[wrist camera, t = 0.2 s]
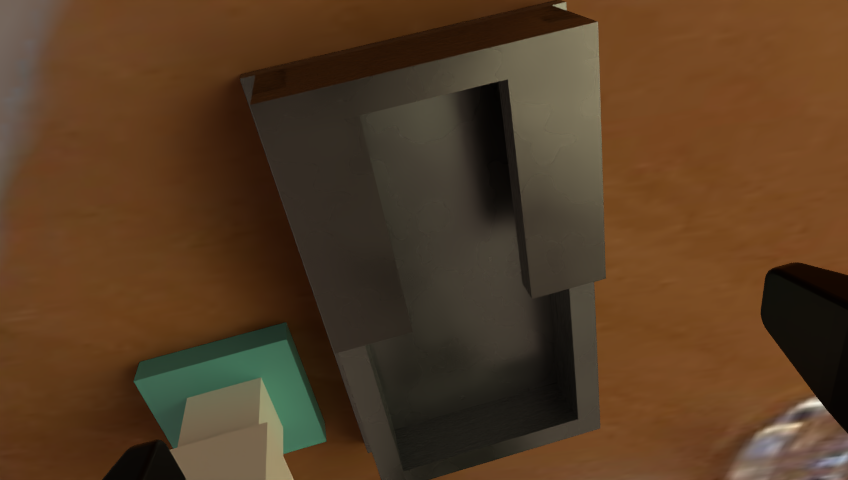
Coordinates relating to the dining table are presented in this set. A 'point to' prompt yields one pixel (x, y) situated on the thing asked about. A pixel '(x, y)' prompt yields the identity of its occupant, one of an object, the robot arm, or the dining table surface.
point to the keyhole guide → (450, 229)
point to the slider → (234, 405)
